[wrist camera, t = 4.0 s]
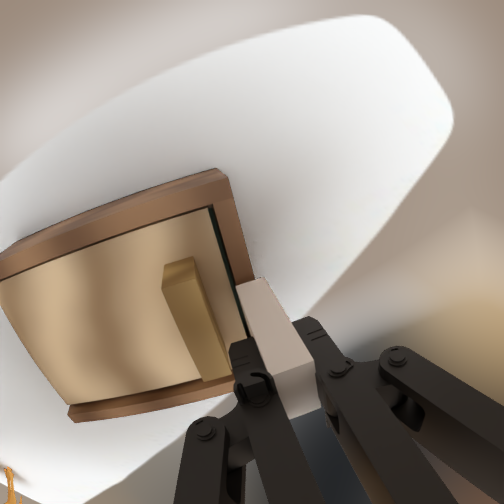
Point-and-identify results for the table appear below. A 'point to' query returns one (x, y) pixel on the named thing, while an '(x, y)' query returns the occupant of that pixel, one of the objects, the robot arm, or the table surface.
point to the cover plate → (128, 311)
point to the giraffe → (11, 495)
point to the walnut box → (129, 217)
